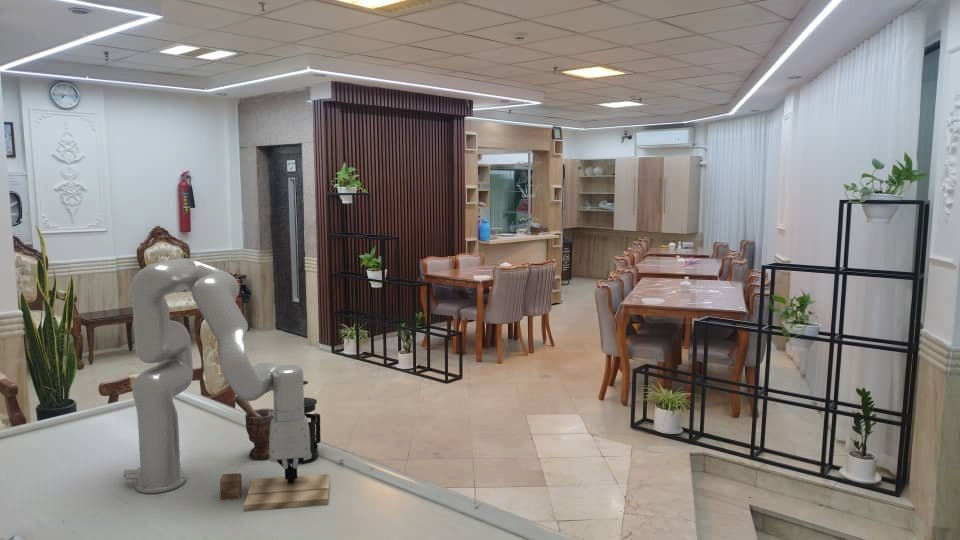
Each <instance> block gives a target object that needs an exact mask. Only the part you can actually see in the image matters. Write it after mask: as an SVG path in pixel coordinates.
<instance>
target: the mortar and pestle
mask: <svg viewBox="0 0 960 540" xmlns="http://www.w3.org/2000/svg"><path fill="white" fill-rule="evenodd" d="M234 401H235V403H236V405H238V407H240V408H241V409H242V410H243V411H244V412H245V415H244V417H245V429H246V432H247V436H248V439H249V441H250V442H251V443H253V445H254V446H253V448H251V450H250V451H249V455H248V456H249V458H250V459H252V460H255V461H262V460H267V459H268V460H269V458H270V454H269V436H270V425H271V420H272V419H273V418H274V417H273V416H271V415H270V416H268V410H273V408H258V409H254V408H253V406H252V405H251V403H250V401H245V400H243V399H241V398H239V397H238V396H237V395H236V396H235V397H234Z"/></svg>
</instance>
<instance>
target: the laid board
mask: <svg viewBox="0 0 960 540" xmlns="http://www.w3.org/2000/svg"><path fill="white" fill-rule="evenodd" d="M329 495H330V487H329V488H326V489H312V490H299V491H285V492H271V493H258V494H248V493H247V494H246V498H245V501H244V504H243V512H249V511H250V512H251V511H252V512H253V511H263V510H276V509H286V508H287V509H288V508H289V509H291V508H302V507H316V506H327V505H329Z"/></svg>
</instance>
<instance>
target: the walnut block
mask: <svg viewBox="0 0 960 540" xmlns="http://www.w3.org/2000/svg"><path fill="white" fill-rule="evenodd" d="M242 483H243V482H242V472H238V473H237V472H236V473H223V474H222V475H221V478H220V480H219V495H220V496H219V498H220V501H228V500H227V499H231V500H240V498H241V496H242V492H243V484H242ZM239 497H240V498H239Z"/></svg>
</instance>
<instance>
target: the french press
mask: <svg viewBox="0 0 960 540" xmlns="http://www.w3.org/2000/svg"><path fill="white" fill-rule="evenodd" d="M308 384H309V382H308V381H307V380H303V386H305V385H308ZM317 403H318V400H317V399H315V398H312V397H304V416H306V417H307V419H310V421H308V425H309V432H310V450H311V454H312V457H311V458H310V459H307V460H304V461H302V462H301V463H300V464H299V465H304V464H305V463H306V464H309V463H313V462H315V461H317V460H316V459H318V460H319V455H318V454H319V447H318V444H320V443H321V442H322V441H321V414H320V413H316V412H315V413H311V412H314V411H315V410H316V404H317ZM288 460H289V463H290V464H292V463H293V461H294V459H288Z"/></svg>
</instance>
